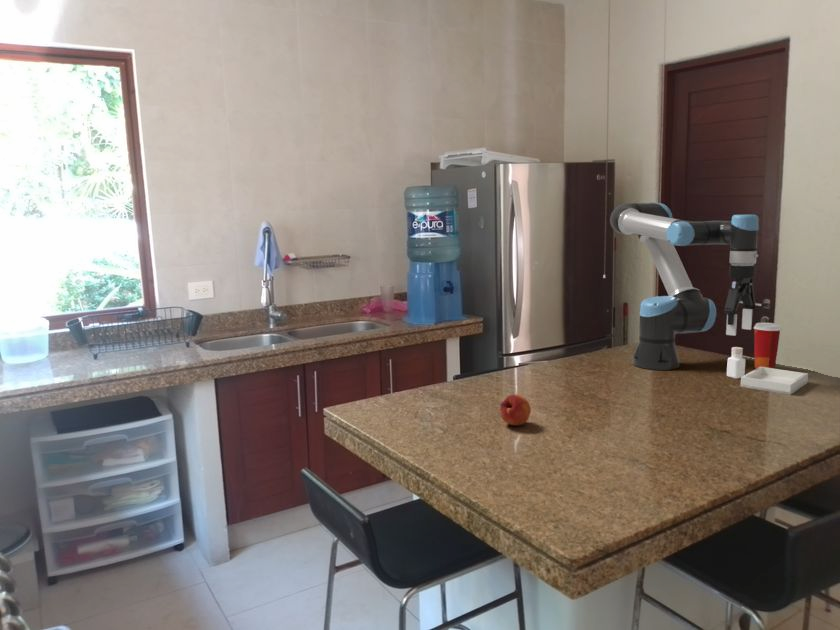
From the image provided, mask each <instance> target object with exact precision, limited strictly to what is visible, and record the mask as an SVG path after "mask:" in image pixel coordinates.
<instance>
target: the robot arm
mask: <svg viewBox="0 0 840 630" xmlns="http://www.w3.org/2000/svg"><path fill="white" fill-rule="evenodd" d="M609 221H610V223H609V224H610V226H611V228H612V229H613V230H614V231H615V232H616V233H618V234H620V235H627V236H633V235H636V236H637V237H638V240H639V241H640V243H642V244H643V245H646V247H647V250H648V251H649V254H650V256H651V258H652V261H653V264H654V265H655V268H656V270H657V272H658V274H659V276H660V279H661V281H662V283H663V286H664V288H665V291H666V292H667V295H661V296H659V295H658V296H652V297H648V298H644V299H643V300H642V301H641V303H640V310H639V329H638V331H639V332H638V344H637V346H636V349H635V352H634V354H633V357H632V365H633V366H636V367H638V368H642V369H647V370H656V371H657V370H659V371H667V370H668V371H669V370H675V369H678V368H679V367H680V357H679V353H678V351H677V347H676V335H678V334H679V335H681V334H692V333H693V334H695V333H696V334H697V333H700V332H701V333H702V332H707V331H709V330H710V329H711V328H712V327H713V326H714V324H715V322H716V318H717V307H716V305H715V302H714V301H713V300H712V299H710V298H707V297H703V294H702V293H701V290H700V289H698V288H696V287H693V284H692V281H691V280H690V278H689V276H688V273H687V271H686V269H685V267H684V264H683V262H682V260H681V258H680V256H679V254H678V251H677V249H676V248H675V247H676V246H678V247H685V246H705V245H706V246H708V245H709V246H711V245H729V246H730V248H729V259H728V260H729V264H730V266H728V267H729V269H728V276H729V278H734V280H733V281H730V282H729V289H728V293H727V297H726V300H725V301H726V302H725V306H724V310H723V314H724V315H726V326H725V327H726V330H725V335H726V336H735V337H736V335H737V328H738V327H737V324H738V323H737V322H738V314H737V311H738V308H739V306H740V302H742V304H743V308H742V317H741V330H749V331H751V330H752V323H753V310H756V308H757V305H756V298H755V290H754V278H755V277H756V274H757V272H756V271H757V267H756V265H755V264H757V258H758V257H759V254H758V240H759V230H760V226H759V223H760V222H759V216H758V215H757V214H733V215H732V217H731V220H708V221H707V220H706V221H705V220H704V221H703V220H701V221H692V220H691V221H689V220H683V219H678V218H674V217H673V214H672V211H671V209H670V208H669V207H668V206H667V205H665V204H664V203H661V202H643V203H642V202H640V203H639V202H627V203H623V204H621V205H617V207H615V208H614V209H613V211H612V212H611V214H610V219H609ZM741 300H742V301H741Z"/></svg>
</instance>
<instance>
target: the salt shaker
mask: <svg viewBox="0 0 840 630" xmlns="http://www.w3.org/2000/svg"><path fill="white" fill-rule="evenodd" d="M743 349H744V348H743V347H739V346H733V347H731V356H730V357H728V358H727V362H726V363H727V365H726V376H727V377H729V378H732V379H735V380H737V379H741V377H742V376H744V375H746V374H745V373H746V358H744V357H743V351H744V350H743Z"/></svg>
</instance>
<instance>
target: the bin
mask: <svg viewBox="0 0 840 630" xmlns="http://www.w3.org/2000/svg"><path fill="white" fill-rule="evenodd" d="M808 378H809V373H808V372H799V371H792V370H786V369H780V368H775V369H773V368H767V367H759V368H757V369H756V368H754V369H753V370H751V371H749V372H748V373H746V374H745V375H744V376H742V377H741V378H740V387H741V388H747V389H752V390H758V391H764V392H769V393H776V394H782V395H788V396H791V395H792V394H793V393H795V392H797V391H798V390H800V389H801V388H802V387H804V386H805V385H807V384H808V380H809V379H808Z"/></svg>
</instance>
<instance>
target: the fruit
mask: <svg viewBox="0 0 840 630" xmlns="http://www.w3.org/2000/svg"><path fill="white" fill-rule="evenodd" d="M499 406H500V408H499V409H500V410H499V412H500V418H501V419H502V421H503V422H504V423H506V424H507V425H511V426H521V425H523V424H525V423H526V422H527V421H529V418H530V415H531V412H532V409H531V405H530V402H529V401H528V400H527V398H525V397H524V396H522V395H520V394H510V395H508V396H507V397H504V400H502V402H501V403H500V405H499Z"/></svg>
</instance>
